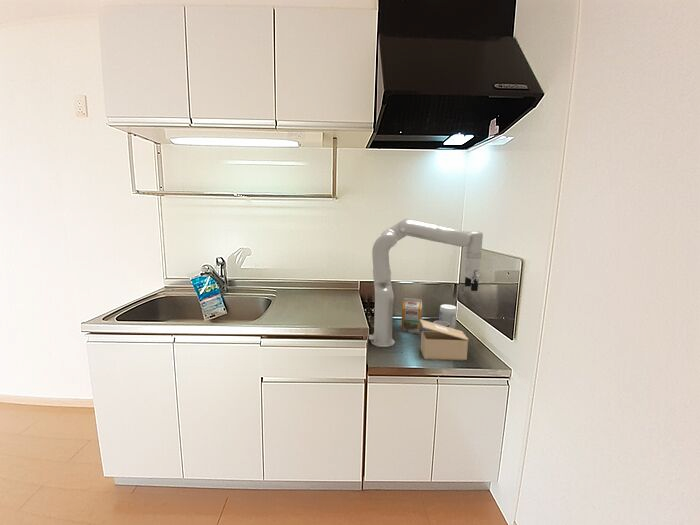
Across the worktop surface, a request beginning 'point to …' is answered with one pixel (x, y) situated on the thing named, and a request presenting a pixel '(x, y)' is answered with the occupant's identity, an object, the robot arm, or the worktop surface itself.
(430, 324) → the carton flap
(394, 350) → the worktop surface
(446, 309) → the supplement tub
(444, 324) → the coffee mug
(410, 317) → the printed food package
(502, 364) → the worktop surface
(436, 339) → the carton
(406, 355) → the worktop surface
